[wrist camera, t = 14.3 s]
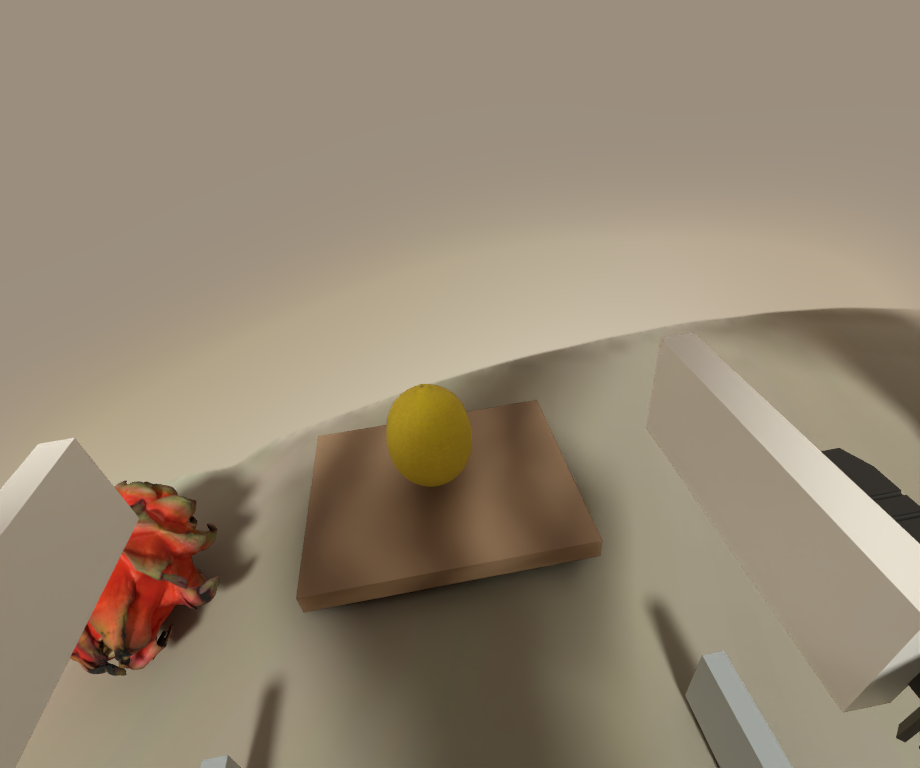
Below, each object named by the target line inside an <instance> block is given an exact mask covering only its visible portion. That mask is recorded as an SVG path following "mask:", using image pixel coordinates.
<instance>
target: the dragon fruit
mask: <svg viewBox="0 0 920 768" xmlns="http://www.w3.org/2000/svg"><path fill="white" fill-rule="evenodd" d="M126 482H127V481H123V482H121V483H119V484H117V485H116V486H115V489H116V490H117V491H118V492H119V494H120V495H121V496H122V497H123V499H124V500H125V501H126V502H127V504H128V505H129V506H130V507H131V509H132V510H133V511H134V512H135V514H136V515H137V516H138V517H139V520H138V522H137V524H136V526H135V528H134V530H133V532H132V534H131V536H130V538H129V540H128V542H127V544H126V546H125V548H124V550H123V552H122V554H121V556H120V558H119V560H118V562H117V564H116V566H115V568H114V570H113V572H112V574H111V576H110V578H109V580H108V582H107V584H106V586H105V588H104V590H103V592H102V594H101V596H100V598H99V600H98V602H97V604H96V606H95V608H94V610H93V612H92V614H91V616H90V618H89V620H88V622H87V624H86V626H85V628H84V630H83V632H82V634H81V636H80V638H79V640H78V642H77V644H76V646H75V648H74V650H73V652H72V654H71V657H70V659H72V660H74V661H77V662H79V663H80V664H81V666H82V667H83V668H84V669H85V670H86V671H87V672H89V673H92V674H101V673H105V672H108V673H109V674H111V675H115V676H116V675H126V670H125V669H124V668H130V669H132V670H137V669H142V668H144V667H145V666H146V665H147V664H148V663H149V662H150V661H151V660H152V659H154V658H155V656H156V655H157V654H158V653H159V652H160V651H161V650H162V649H164V648H165V647H166V644H167V642H168V639H169V638H170V637H171V633H172V626H173V624H172V625H171V626H170V628H169V630H168V631H167V632H168V634H167V636H166V637H165V635H166V631H163V632H162V634H161V636H160V637H159V639H158V641H157V634H158V631H159V629H160V627H161V624H162V623H163V622H164V621H165V620H166V618H167V617H168V616H169V614H170V612H171V611H172V610H173V608H174V607H175V605H186V606H187V607H189V608H191V609H197V608H195V607H197V606H200V605H203V604H205V603H208V602H209V601H211V600H212V599H213V598H214V596H215V594H216V591H217V587H218V585H219V576H216V577H214V578H210V579H209V580H208V581H207V578H206V577H205V576H204V575H203V572H202V571H201V570H199V569H196V568H195V566H194V564H193V561H192V557H191V556H192V555H194V554H196V553H197V552H199V551H203V550H205V549H207V548H208V547H209V546H210V545H211V544H212V543H213V542H214V540H215V538H216V535H217V528H216V526H215V525H213V524H207V526H208V528H209V530H210V531H209V532H203V531H199V530H195V528H196V525H197V520H196V519H195V518H194V517H193V516H192V515H193V514H194V512H195V510H196V501H195V500H192V499H187V498H185V497H181V496H178V494H177V492H176V490H175V489H174V488H173V487H170V486H166V485H162V484H151V483H149V482H144V483H143V482H132V483H130V484H128V485H127V483H126ZM189 519H190V521H188V520H189ZM164 637H165V638H164ZM156 641H157V642H156ZM113 658H115V659H116V660H117V661H119V667H118V666H115V665H113V664H110V663H108V662H107V661H109V660H111V659H113ZM130 659H131V660H130ZM130 661H131V662H130Z"/></svg>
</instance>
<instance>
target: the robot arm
mask: <svg viewBox="0 0 920 768" xmlns="http://www.w3.org/2000/svg"><path fill="white" fill-rule="evenodd" d="M646 428H647V429H648V431H649V432H650V434H651V435H652V437H653V438H654V440H655V441H656V442H657V444H658V445H659V447H660V448H661V450H662V451H663V453H664V454H665V455H666V457H667V458H668V460H669V461H670V463H671V464H672V466H673V467H674V469H675V470H676V471H677V473H678V474H679V476H680V477H681V479H682V480H683V482H684V483H685V484H686V486H687V487H688V489H689V490H690V492H691V493H692V495H693V496H694V498H695V499H696V500H697V502H698V503H699V505H700V506H701V508H702V509H703V511H704V512H705V513H706V515H707V516H708V518H709V519H710V521H711V522H712V524H713V525H714V527H715V528H716V529H717V531H718V532H719V534H720V535H721V537H722V538H723V540H724V541H725V542H726V544H727V545H728V547H729V548H730V550H731V551H732V553H733V554H734V556H735V557H736V558H737V560H738V561H739V563H740V564H741V566H742V567H743V569H744V570H745V571H746V573H747V574H748V576H749V577H750V579H751V580H752V582H753V583H754V585H755V586H756V587H757V589H758V590H759V592H760V593H761V595H762V596H763V598H764V599H765V600H766V602H767V603H768V605H769V606H770V608H771V609H772V611H773V612H774V614H775V615H776V616H777V618H778V619H779V621H780V622H781V624H782V625H783V627H784V628H785V629H786V631H787V632H788V634H789V635H790V637H791V638H792V640H793V641H794V643H795V644H796V645H797V647H798V648H799V650H800V651H801V653H802V654H803V656H804V657H805V658H806V660H807V661H808V663H809V664H810V666H811V667H812V669H813V670H814V672H815V673H816V674H817V676H818V677H819V679H820V680H821V682H822V683H823V685H824V686H825V688H826V689H827V690H828V692H829V693H830V695H831V696H832V698H833V699H834V701H835V702H836V703H837V705H838V706H839V708H840V709H841V711H842V712H848V711H853V710H857V709H862V708H867V707H872V706H876V705H881V704H886V703H890V702H891V701H892V700H894V699H895V698H896V697H897V696H898V695H899V694H900V693H901V692H902V691H903V690H904V689H905V688H906V687H907V686H908V685H909V686H910V687H911V689H912V690H913V691H914V692H915V694H916V695H917V696H918V697H919V698H920V506H919V505H918V504H916V503H915V502H914V501H913V500H912V499H911V498H910V497H908V496H907V495H902V493H901V490H900V489H899V488H898V487H897V486H896V485H894V484H893V483H892V482H891V481H890V480H889V479H888V478H886V477H885V476H884V475H883V474H882V473H881V472H879V471H878V470H877V469H876V468H875V467H874V466H872V465H870V464H868V463H866V462H864V461H863V460H861V459H859V458H857V457H855V456H853V455H851V454H850V453H848V452H846V451H844V450H842V449H840V448H837V449H831V450H826V451H820V450H819V449H818V448H816V447H815V446H814V445H813V444H812V443H811V442H810V441H809V440H808V439H807V438H806V437H805V436H804V435H803V434H801V433H800V432H799V431H798V430H797V429H796V428H795V427H794V426H793V425H792V424H791V423H790V422H789V421H788V420H786V419H785V418H784V417H783V416H782V415H781V414H780V413H779V412H778V411H777V410H776V409H775V408H774V407H773V406H771V405H770V404H769V403H768V402H767V401H766V400H765V399H764V398H763V397H762V396H761V395H760V394H759V393H758V392H756V391H755V390H754V389H753V388H752V387H751V386H750V385H749V384H748V383H747V382H746V381H745V380H744V379H742V378H741V377H740V376H739V375H738V374H737V373H736V372H735V371H734V370H733V369H732V368H731V367H730V366H729V365H727V364H726V363H725V362H724V361H723V360H722V359H721V358H720V357H719V356H718V355H717V354H716V353H715V352H714V351H712V350H711V349H710V348H709V347H708V346H707V345H706V344H705V343H704V342H703V341H702V340H701V339H700V338H699V337H697V336H696V335H695V334H694V333H693V332H692V333H686V334H680V335H675V336H669V337H663V338H661V340H660V346H659V352H658V358H657V364H656V370H655V377H654V383H653V389H652V395H651V401H650V407H649V413H648V419H647V426H646ZM138 520H139V517H138V516H137V515H136V514H135V512H134V511H133V510H132V509H131V507H130V506H129V505H128V504H127V502H126V501H125V500H124V499H123V497H122V496H121V495H120V494H119V492H118V491H117V490H116V489H115V487H114V486H113V485H112V484H111V482H110V481H109V480H108V479H107V477H106V476H105V475H104V474H103V472H102V471H101V470H100V469H99V467H98V466H97V465H96V464H95V462H94V461H93V460H92V459H91V457H90V456H89V455H88V454H87V452H86V451H85V450H84V449H83V447H82V446H81V445H80V444H79V443H78V441H77V440H76V439H75V438H70V439H64V440H59V441H53V442H47V443H41V444H38V445H37V446H36V448H35V449H34V450H33V451H32V452H31V453H30V455H29V456H28V457H27V458H26V459H25V461H24V462H23V463H22V464H21V465H20V467H19V468H18V469H17V470H16V471H15V472H14V474H13V475H12V476H11V477H10V478H9V480H8V481H7V482H6V483H5V484H4V486H3V487H2V488H1V489H0V768H15V767H16V765H17V763H18V761H19V759H20V757H21V755H22V753H23V751H24V749H25V747H26V745H27V743H28V741H29V739H30V737H31V735H32V733H33V731H34V729H35V727H36V725H37V723H38V721H39V719H40V717H41V715H42V713H43V711H44V709H45V707H46V705H47V703H48V701H49V699H50V697H51V695H52V693H53V691H54V689H55V687H56V685H57V683H58V681H59V679H60V677H61V675H62V673H63V671H64V669H65V667H66V665H67V663H68V661H69V659H70V657H71V654H72V652H73V650H74V648H75V646H76V644H77V642H78V640H79V638H80V636H81V634H82V632H83V630H84V628H85V626H86V624H87V622H88V620H89V618H90V616H91V614H92V612H93V610H94V608H95V606H96V604H97V602H98V600H99V598H100V596H101V594H102V592H103V590H104V588H105V586H106V584H107V582H108V580H109V578H110V576H111V574H112V572H113V570H114V568H115V566H116V564H117V562H118V560H119V558H120V556H121V554H122V552H123V550H124V548H125V546H126V544H127V542H128V540H129V538H130V536H131V534H132V532H133V530H134V528H135V526H136V524H137V522H138ZM919 731H920V707H919V708H918V709H916V710H915V711H914V712H913V713H912V714H911V715H909V716H908V717H907V718H906V719H905V720H904V721H903V722H901V723H900V724H899V727H898V732H897V736H896V738H897V739H899V740H902V741H904V742H907V741H908V740H909V739H910V738H912V737H913V736H914V735H915V734H917V733H918V732H919ZM919 749H920V746H919Z"/></svg>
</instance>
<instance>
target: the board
mask: <svg viewBox="0 0 920 768" xmlns="http://www.w3.org/2000/svg"><path fill="white" fill-rule="evenodd" d="M466 413H467V416H468V418H469V422H470V425H471V431H472V448H471V453H470V457H469V459H468V462H467V464H466V466H465V468H464V469H463V470H462V472H461V473H460V474H459V475H458V476H457V477H456V478H454V479H453V480H452V481H450V482H448V483H446V484H443V485H440V486H433V487H428V486H421V485H418V484H415V483H413V482H411V481H409V480H408V479H406V478H405V477H404V476H403V475H402V474H401V473H400V472H399V471H398V470H397V468H396V467H395V465H394V464H393V461H392V459H391V456H390V453H389V451H388V447H387V440H386V431H387V425H383V426H377V427H371V428H365V429H359V430H353V431H347V432H341V433H335V434H329V435H323V436H318V442H317V450H316V457H315V464H314V472H313V479H312V486H311V494H310V501H309V509H308V516H307V523H306V531H305V538H304V545H303V553H302V560H301V567H300V575H299V582H298V589H297V597H296V599H297V601H298V603H299V604H300V606H301V608H302V610H303V612H308V611H314V610H319V609H324V608H329V607H334V606H340V605H345V604H350V603H355V602H361V601H366V600H371V599H376V598H382V597H387V596H392V595H397V594H402V593H408V592H413V591H418V590H423V589H429V588H434V587H439V586H444V585H449V584H455V583H460V582H465V581H470V580H476V579H481V578H486V577H491V576H497V575H502V574H507V573H512V572H517V571H523V570H528V569H533V568H538V567H544V566H549V565H554V564H559V563H565V562H570V561H575V560H580V559H585V558H591V557H596V556H600V554H601V546H602V539H601V537H600V535H599V532H598V530H597V528H596V526H595V524H594V522H593V520H592V517H591V515H590V513H589V511H588V509H587V507H586V505H585V503H584V500H583V498H582V496H581V494H580V492H579V490H578V488H577V485H576V483H575V481H574V479H573V477H572V475H571V473H570V471H569V468H568V466H567V464H566V462H565V460H564V458H563V456H562V453H561V451H560V449H559V447H558V445H557V443H556V441H555V439H554V436H553V434H552V432H551V430H550V428H549V426H548V424H547V421H546V419H545V417H544V415H543V413H542V411H541V409H540V407H539V404H538V402H537V400H534V401H528V402H522V403H516V404H510V405H504V406H498V407H492V408H486V409H480V410H474V411H468V412H466Z"/></svg>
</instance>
